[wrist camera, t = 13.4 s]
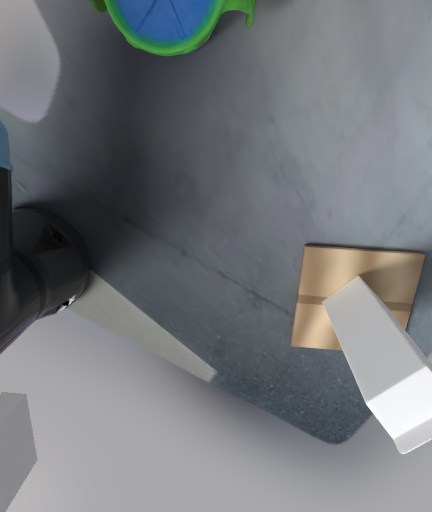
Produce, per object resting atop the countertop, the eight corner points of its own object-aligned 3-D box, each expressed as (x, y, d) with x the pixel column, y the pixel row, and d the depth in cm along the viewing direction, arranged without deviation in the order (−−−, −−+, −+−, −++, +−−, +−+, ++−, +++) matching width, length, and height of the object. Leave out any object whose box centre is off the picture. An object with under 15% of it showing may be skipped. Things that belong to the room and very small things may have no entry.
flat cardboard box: (290, 342, 52) (291, 346, 51) (304, 244, 47) (305, 246, 46) (396, 351, 51) (398, 355, 50) (422, 253, 46) (425, 255, 45)
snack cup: (264, -26, 37) (272, -78, 28) (241, 84, 41) (239, 72, 31) (117, -60, 37) (73, -124, 27) (107, 53, 41) (65, 32, 31)
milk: (321, 301, 48) (375, 432, 28) (358, 273, 47) (446, 391, 26) (349, 331, 50) (421, 477, 29) (386, 305, 48) (492, 441, 27)
